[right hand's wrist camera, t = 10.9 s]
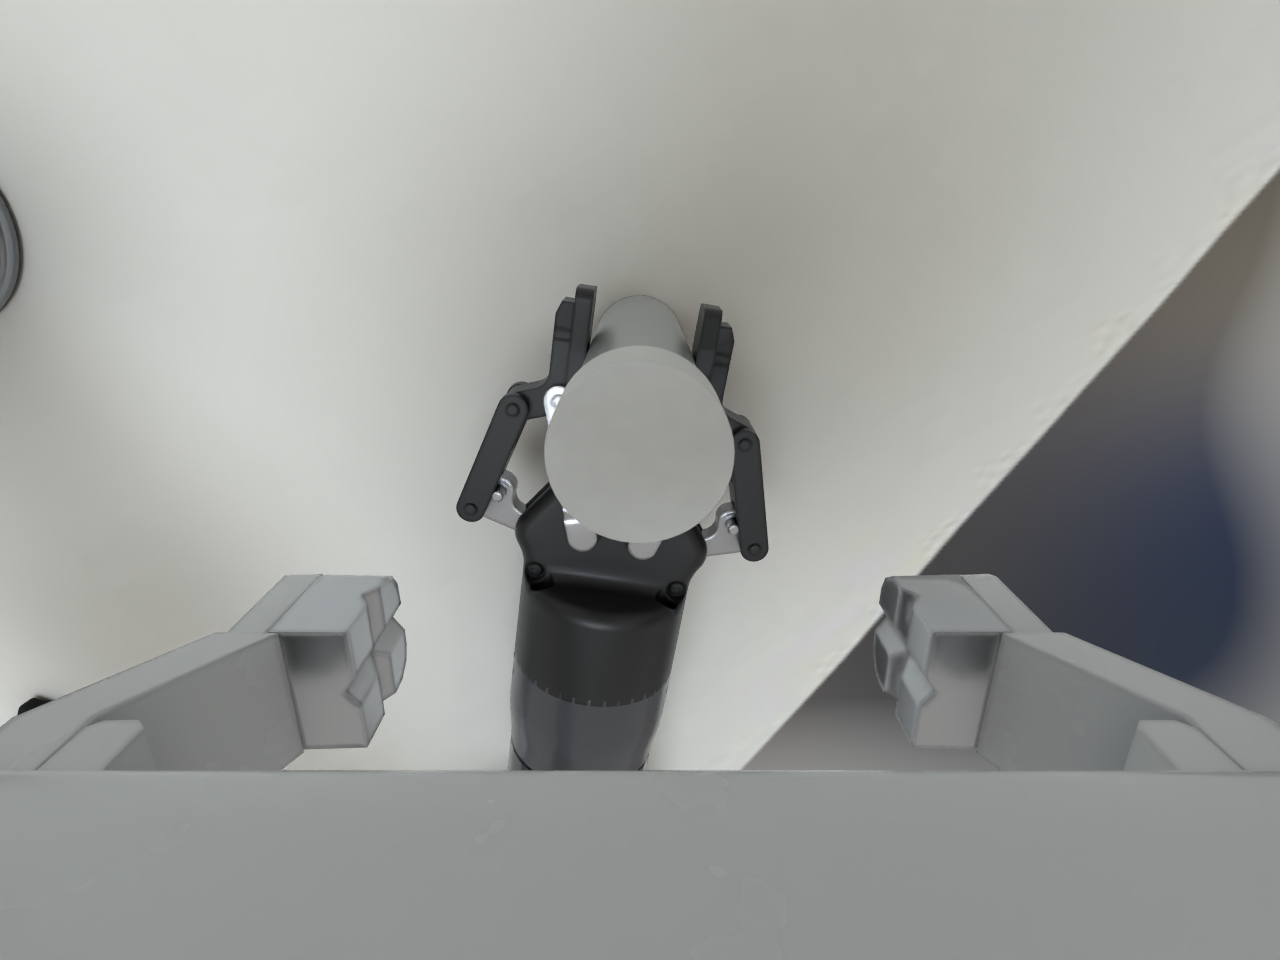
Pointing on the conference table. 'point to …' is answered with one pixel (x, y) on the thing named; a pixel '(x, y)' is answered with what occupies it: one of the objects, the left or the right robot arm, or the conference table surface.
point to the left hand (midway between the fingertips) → (648, 298)
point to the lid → (639, 445)
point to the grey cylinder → (638, 328)
